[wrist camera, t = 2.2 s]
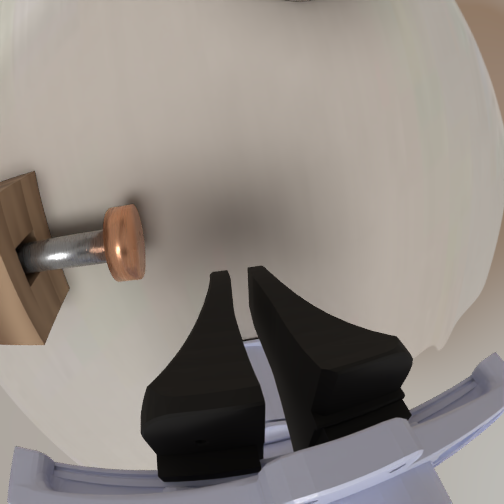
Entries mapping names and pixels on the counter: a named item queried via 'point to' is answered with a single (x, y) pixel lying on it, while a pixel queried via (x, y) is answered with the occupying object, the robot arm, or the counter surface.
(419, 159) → the counter surface
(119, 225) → the copper capped shaft
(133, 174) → the counter surface
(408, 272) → the counter surface
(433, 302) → the counter surface
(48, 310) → the bearing block
